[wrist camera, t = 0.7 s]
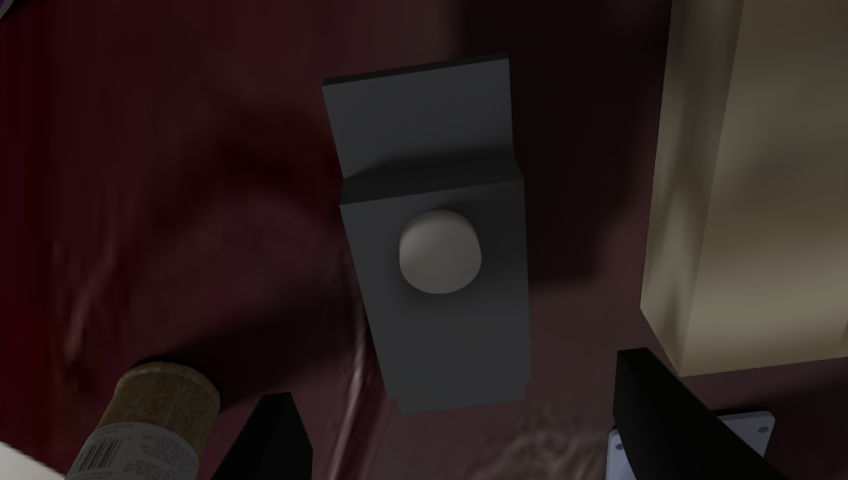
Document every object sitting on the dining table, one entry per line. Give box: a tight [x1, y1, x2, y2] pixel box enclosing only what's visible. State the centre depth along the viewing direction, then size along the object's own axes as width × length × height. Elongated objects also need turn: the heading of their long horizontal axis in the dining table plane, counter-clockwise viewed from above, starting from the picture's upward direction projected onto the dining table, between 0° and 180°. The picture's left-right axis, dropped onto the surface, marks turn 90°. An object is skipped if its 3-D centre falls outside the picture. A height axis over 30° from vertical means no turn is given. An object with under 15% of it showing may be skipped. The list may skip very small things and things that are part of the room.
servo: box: [322, 52, 532, 415], centre depth 17 cm, size 12×4×7 cm, turn 8°
